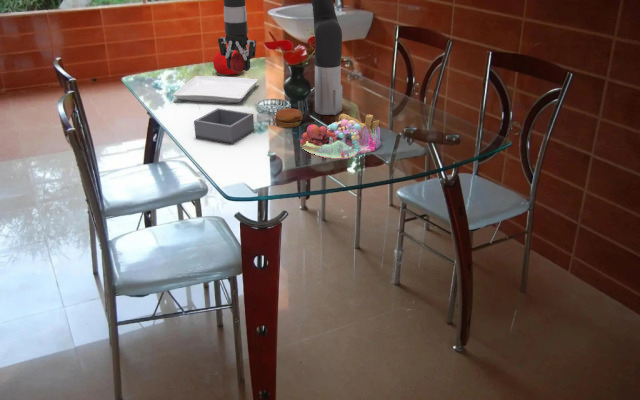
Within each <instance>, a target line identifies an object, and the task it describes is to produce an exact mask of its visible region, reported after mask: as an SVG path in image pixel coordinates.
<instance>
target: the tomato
mask: <svg viewBox="0 0 640 400" xmlns="http://www.w3.org/2000/svg"><path fill="white" fill-rule="evenodd" d="M226 47H227V48H228V46H226ZM236 52H237V50H234V52H233V54H232V56H233V55H234V54H235V53H236ZM240 54H241V53H240ZM212 63H213V69H214V70H215V71H216V72H217V73H218V74H221V75H226V76H232V75H236V74H238V73H236V72H235V71H233V70H232V69H228V67H227V59H226V57H225V56H222V55H221V53H220V50H218V51H216V53H215V55H214V56H213V60H212Z"/></svg>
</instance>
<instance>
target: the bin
mask: <svg viewBox="0 0 640 400" xmlns="http://www.w3.org/2000/svg"><path fill="white" fill-rule="evenodd" d="M254 119H255V118H254V113H251V112H243V111H237V110H231V109H225V108H218V107H217V108H215V109H214V110H212V111H210V112H208V113H206V114H205V115H202V116H200V117H199V118H196V119H195V120H194V121H193V124H194V125H193V126H194V136H195V137H194V138H195V139H198V140H203V141H209V142H214V143H220V144H225V145H230V146H231V145H232V146H233V145H234V144H236V143H238V142H239V141H240V140H242V139H244V138H245V137H247V136H249V135H250V134H252V133H253V132H255V120H254ZM251 132H252V133H251ZM248 134H249V135H248Z"/></svg>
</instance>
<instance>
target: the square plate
mask: <svg viewBox="0 0 640 400" xmlns="http://www.w3.org/2000/svg"><path fill="white" fill-rule="evenodd" d="M259 81H260V80H259V79H258V78H247V77H245V78H244V77H235V76H215V75H213V76H212V75H209V76H208V75H207V76H206V75H195V76H193V78H191V79H190V80H188V81H187V82H186V83H184V84H183V85H182V86H181V87H180V88H179V89H177V90H176V91H175V92H174V93H173V94H172V96H174V97H176V98H177V99H179V100H181V101H189V102H199V103H200V102H203V103H208V102H209V103H222V104H223V103H224V104H233V103H234V104H235V103H237V104H238V103H240V102H241V101H242V100H243V99H245V96H247V94H248V93H249V92H250V91H251V90H253V89H254V88H255V86H256V85H257V84H258V82H259Z"/></svg>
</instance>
